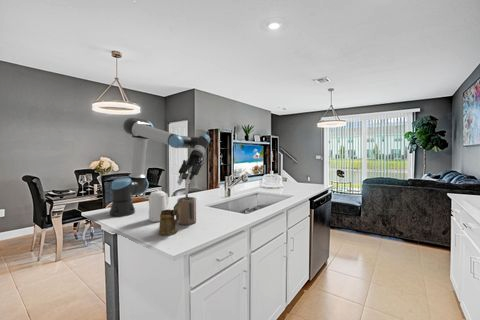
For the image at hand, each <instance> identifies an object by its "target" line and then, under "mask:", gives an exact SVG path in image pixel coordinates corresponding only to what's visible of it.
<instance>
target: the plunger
mask: <svg viewBox="0 0 480 320" xmlns="http://www.w3.org/2000/svg"><path fill="white" fill-rule="evenodd" d="M189 173H190V172H189ZM189 173H188V172H186V173H184V174H182V179H183V180H184V188H185V189H184V191H185V194H184V197H185V198H186V200H188V197H189V184H188V185H186V183H185V181H186V179H187V177H188V175H189Z"/></svg>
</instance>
